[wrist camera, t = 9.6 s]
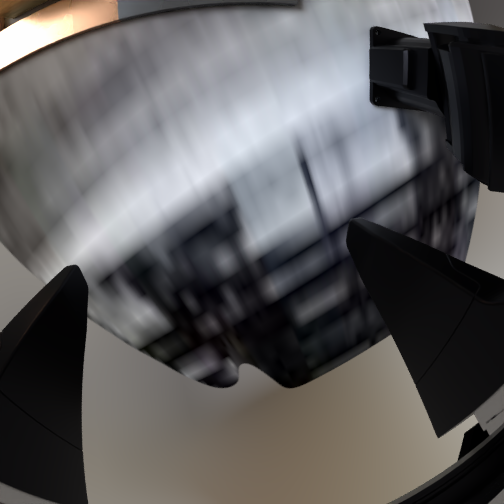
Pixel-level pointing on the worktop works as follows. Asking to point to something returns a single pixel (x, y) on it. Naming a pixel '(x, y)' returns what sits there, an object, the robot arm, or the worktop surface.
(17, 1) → the wooden block
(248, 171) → the worktop surface
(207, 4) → the frame with rectangular openings
